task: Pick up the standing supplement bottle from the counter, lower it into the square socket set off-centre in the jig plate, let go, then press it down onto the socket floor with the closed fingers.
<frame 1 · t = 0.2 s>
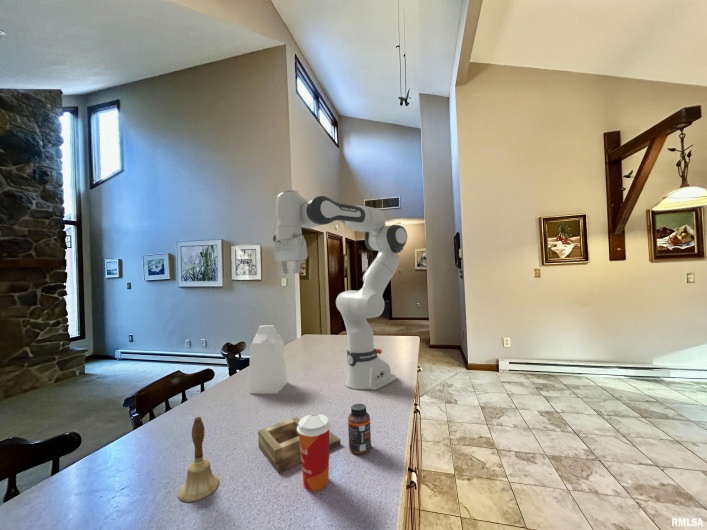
hand: (290, 273, 109), 48 cm above the kitchen island, tool pointing down, fingers open, 8 cm apart
supplement bottle: (360, 449, 81), on the kitchen island
milk: (268, 388, 126), on the kitchen island
hand bell: (199, 489, 68), on the kitchen island
jig: (299, 445, 83), on the kitchen island
paper cup: (316, 483, 68), on the kitchen island
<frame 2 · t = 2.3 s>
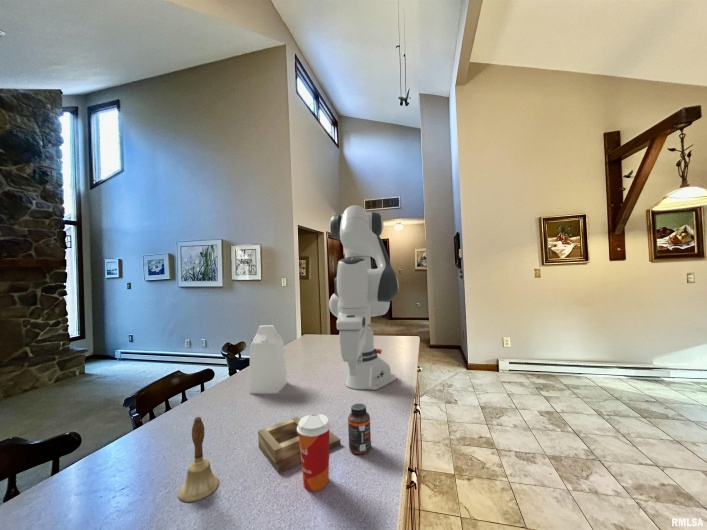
hand: (356, 368, 81), 21 cm above the kitchen island, tool pointing down, fingers open, 8 cm apart
nothing on the kitchen island moved.
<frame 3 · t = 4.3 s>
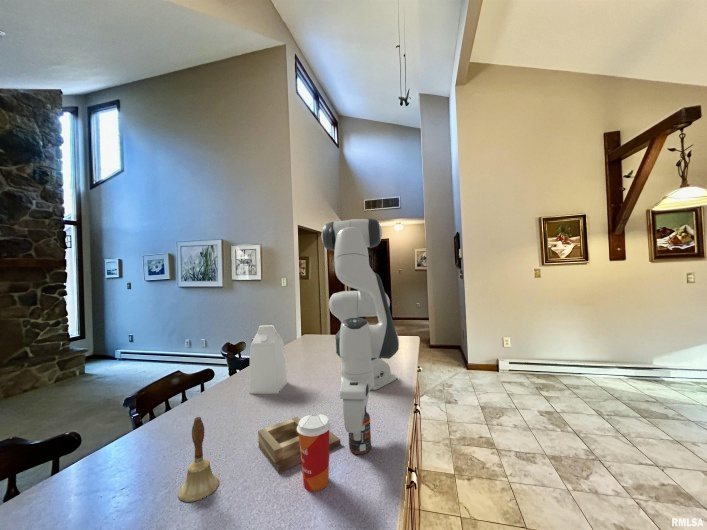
hand: (359, 431, 81), 5 cm above the kitchen island, tool pointing down, fingers closed on supplement bottle, 6 cm apart
supplement bottle: (360, 449, 81), on the kitchen island, touching gripper
everything else where it was.
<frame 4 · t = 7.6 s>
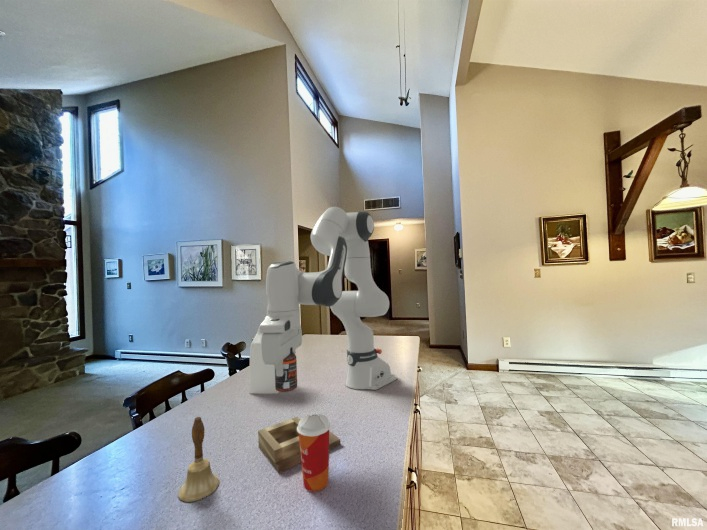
hand: (285, 370, 82), 21 cm above the kitchen island, tool pointing down, fingers closed on supplement bottle, 6 cm apart
supplement bottle: (286, 389, 82), point 16 cm above the kitchen island, touching gripper
everything else where it was.
when the fingers open (7 cm above the kitchen island, at t = 10.9 s): supplement bottle stays where it is, resting on jig.
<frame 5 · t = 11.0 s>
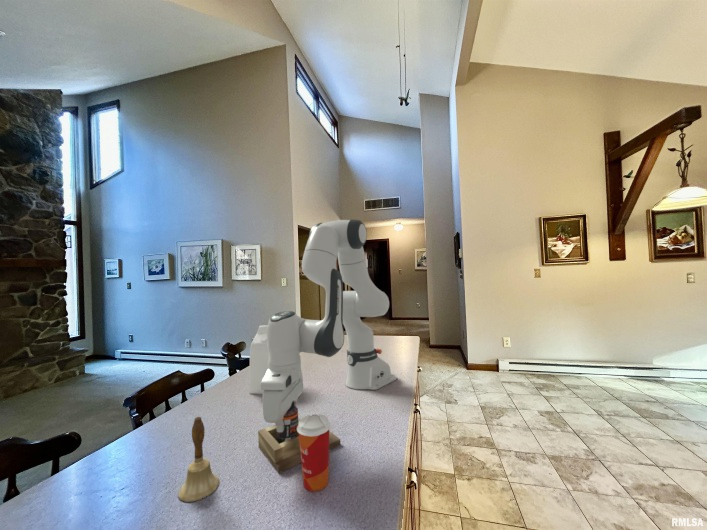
hand: (286, 422, 82), 7 cm above the kitchen island, tool pointing down, fingers open, 7 cm apart
supplement bottle: (288, 443, 82), point 1 cm above the kitchen island, touching jig
everything else where it was.
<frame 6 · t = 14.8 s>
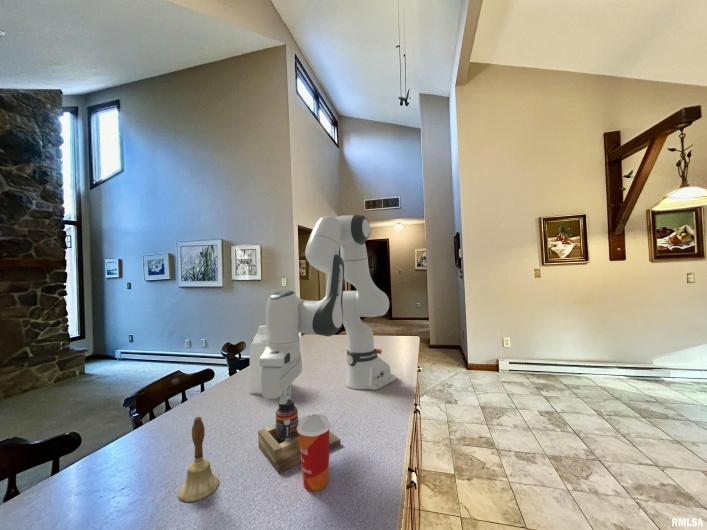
hand: (285, 401, 82), 13 cm above the kitchen island, tool pointing down, fingers closed, pressing on supplement bottle
supplement bottle: (288, 443, 82), point 1 cm above the kitchen island, touching gripper, jig
everything else where it was.
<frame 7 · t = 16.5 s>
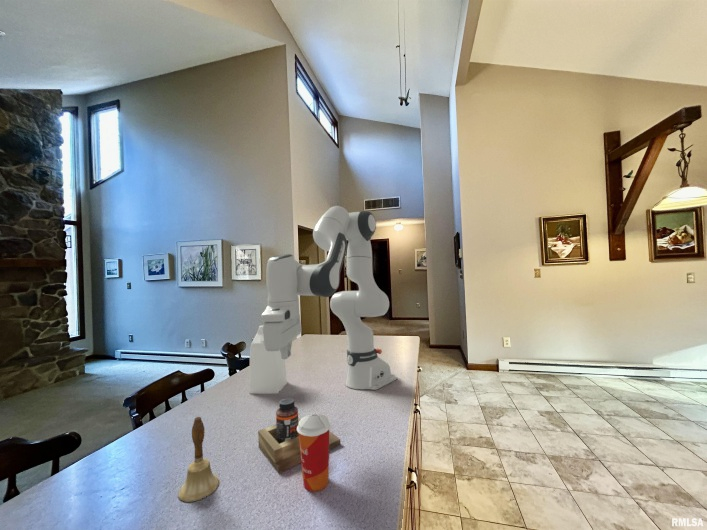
hand: (286, 357, 88), 23 cm above the kitchen island, tool pointing down, fingers closed
supplement bottle: (288, 443, 82), point 1 cm above the kitchen island, touching jig
everything else where it was.
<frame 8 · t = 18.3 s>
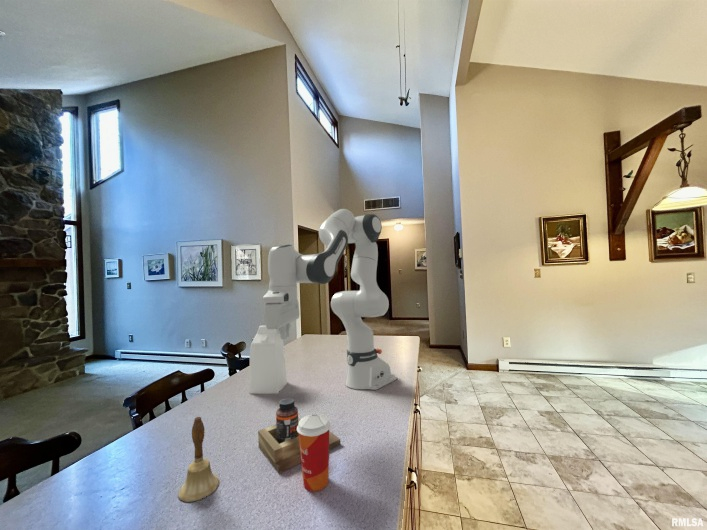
hand: (285, 337, 97), 27 cm above the kitchen island, tool pointing down, fingers closed
nothing on the kitchen island moved.
at the end: supplement bottle 0.2 cm from the target spot on the jig, point 1.3 cm above the jig's base; supplement bottle tilted 0°; the gripper is holding nothing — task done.
